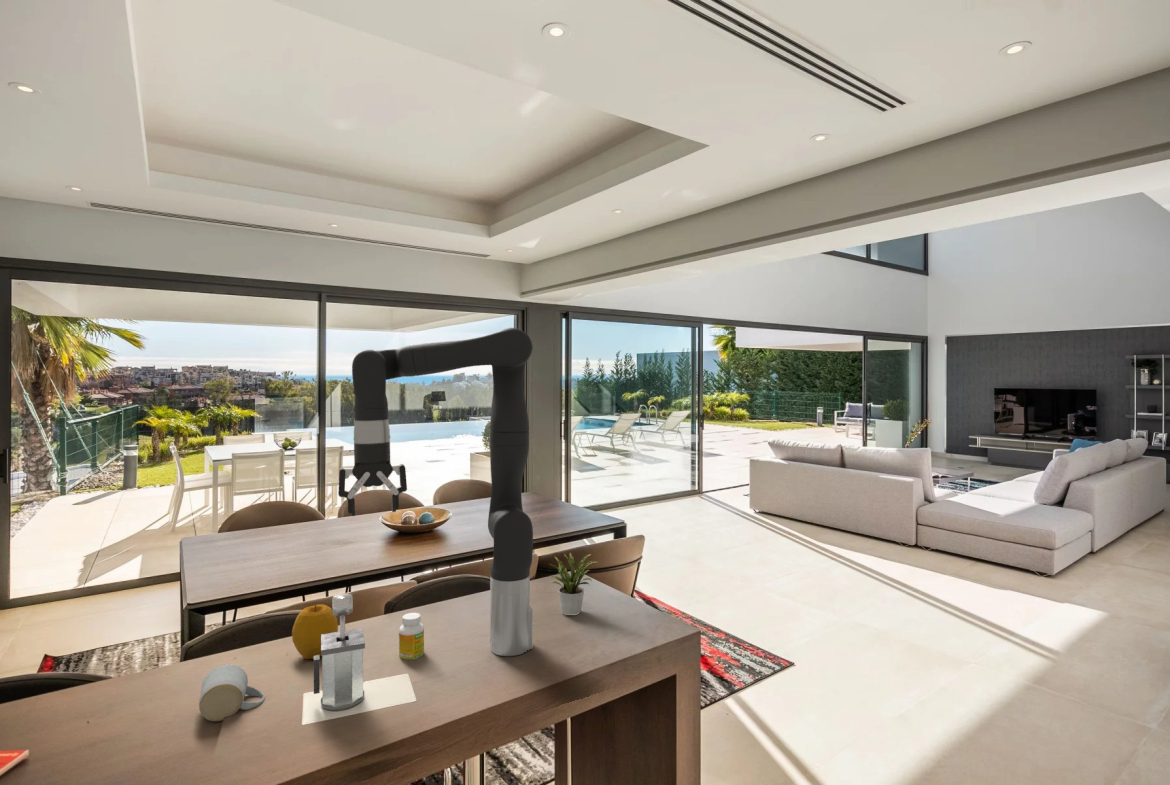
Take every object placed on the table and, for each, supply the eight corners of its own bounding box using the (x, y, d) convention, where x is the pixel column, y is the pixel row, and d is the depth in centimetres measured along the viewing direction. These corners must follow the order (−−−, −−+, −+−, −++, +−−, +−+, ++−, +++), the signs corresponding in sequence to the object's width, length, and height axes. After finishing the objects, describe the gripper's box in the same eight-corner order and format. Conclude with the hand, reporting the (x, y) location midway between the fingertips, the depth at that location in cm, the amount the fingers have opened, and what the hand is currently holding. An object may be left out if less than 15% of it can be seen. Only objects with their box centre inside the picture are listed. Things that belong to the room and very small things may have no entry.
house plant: (606, 605, 168) (606, 547, 167) (596, 624, 154) (596, 561, 154) (557, 601, 171) (557, 544, 171) (543, 619, 157) (543, 558, 157)
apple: (319, 668, 130) (319, 615, 130) (281, 663, 132) (281, 611, 132) (346, 649, 139) (346, 599, 139) (310, 645, 142) (310, 596, 141)
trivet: (407, 678, 126) (407, 673, 126) (416, 706, 115) (416, 700, 115) (303, 698, 118) (303, 693, 118) (302, 730, 107) (302, 725, 107)
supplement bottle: (416, 665, 132) (416, 621, 132) (394, 662, 133) (394, 619, 133) (428, 654, 137) (427, 612, 137) (406, 652, 138) (406, 610, 138)
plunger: (356, 661, 118) (356, 590, 118) (358, 673, 114) (358, 599, 113) (327, 666, 116) (327, 594, 116) (327, 679, 111) (327, 603, 111)
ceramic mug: (197, 729, 107) (197, 686, 107) (202, 707, 114) (202, 667, 114) (264, 715, 112) (264, 674, 112) (264, 694, 119) (265, 656, 119)
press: (362, 686, 120) (362, 627, 120) (365, 705, 113) (365, 643, 113) (314, 696, 116) (313, 635, 116) (313, 716, 109) (313, 651, 109)
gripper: (403, 437, 138) (405, 507, 138) (337, 440, 132) (338, 513, 133) (407, 440, 131) (408, 513, 131) (337, 443, 125) (338, 520, 126)
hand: (373, 513), depth 132 cm, fingers open, 8 cm apart
